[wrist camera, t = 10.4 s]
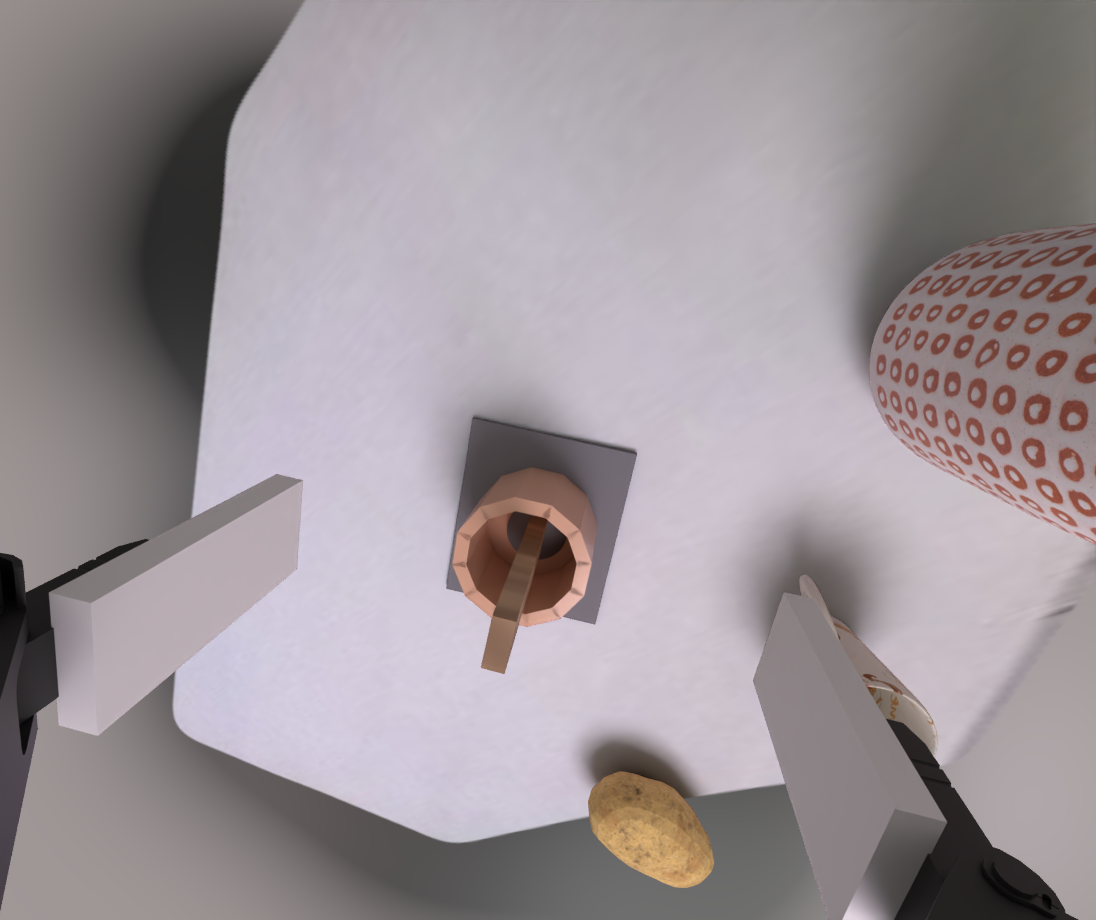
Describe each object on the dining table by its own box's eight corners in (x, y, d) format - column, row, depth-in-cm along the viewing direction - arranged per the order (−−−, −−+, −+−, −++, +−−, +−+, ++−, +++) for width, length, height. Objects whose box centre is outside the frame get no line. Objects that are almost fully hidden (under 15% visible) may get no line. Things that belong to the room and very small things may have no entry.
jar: (488, 457, 43) (464, 485, 37) (606, 483, 42) (602, 516, 36) (470, 564, 45) (445, 607, 39) (581, 590, 45) (574, 638, 39)
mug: (770, 704, 46) (806, 813, 36) (724, 563, 43) (752, 641, 34) (882, 681, 44) (951, 788, 35) (842, 533, 41) (906, 605, 32)
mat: (474, 417, 43) (472, 418, 42) (636, 453, 42) (636, 454, 41) (447, 586, 47) (446, 588, 46) (595, 621, 46) (595, 624, 45)
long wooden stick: (514, 494, 42) (462, 594, 28) (573, 509, 42) (551, 617, 28) (502, 548, 44) (447, 671, 29) (560, 563, 44) (532, 693, 29)
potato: (630, 731, 48) (630, 793, 42) (726, 814, 49) (740, 886, 43) (575, 775, 50) (568, 840, 44) (669, 854, 51) (674, 928, 45)
